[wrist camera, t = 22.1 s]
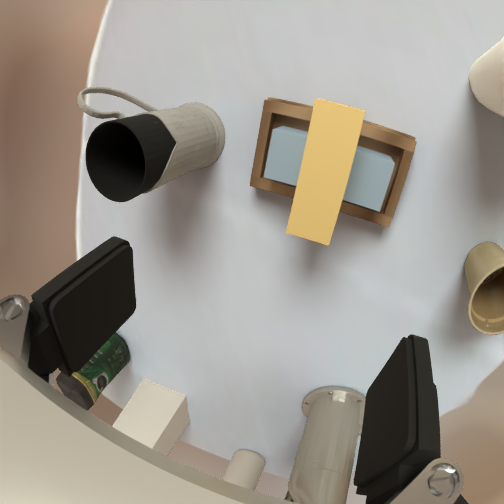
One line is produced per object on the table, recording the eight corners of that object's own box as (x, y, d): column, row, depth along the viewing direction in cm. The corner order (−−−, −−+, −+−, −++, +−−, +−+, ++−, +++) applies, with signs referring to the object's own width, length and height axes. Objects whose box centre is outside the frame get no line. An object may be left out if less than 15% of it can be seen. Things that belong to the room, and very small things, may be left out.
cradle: (413, 136, 29) (418, 139, 27) (387, 220, 35) (388, 229, 32) (270, 97, 32) (264, 97, 30) (255, 181, 38) (248, 187, 36)
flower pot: (438, 269, 35) (452, 310, 28) (485, 213, 30) (511, 245, 22) (479, 304, 35) (495, 346, 27) (523, 256, 30) (549, 292, 22)
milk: (143, 378, 68) (84, 458, 47) (186, 395, 66) (129, 485, 44) (151, 404, 74) (101, 477, 52) (190, 420, 71) (143, 500, 50)
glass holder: (192, 182, 41) (119, 226, 28) (131, 107, 38) (46, 124, 26) (239, 139, 36) (171, 167, 23) (169, 61, 34) (82, 57, 21)
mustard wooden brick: (363, 110, 25) (365, 111, 21) (333, 226, 31) (328, 245, 27) (321, 99, 26) (315, 98, 22) (295, 215, 32) (285, 232, 28)
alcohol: (269, 456, 69) (229, 553, 44) (261, 466, 73) (224, 554, 48) (238, 444, 70) (192, 540, 45) (232, 455, 75) (190, 542, 50)
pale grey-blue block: (390, 156, 30) (394, 163, 26) (377, 198, 33) (379, 211, 29) (283, 125, 32) (272, 129, 29) (274, 167, 35) (263, 177, 31)
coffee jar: (99, 322, 64) (47, 376, 48) (126, 335, 62) (74, 394, 46) (108, 351, 69) (62, 402, 53) (133, 364, 67) (88, 420, 51)
